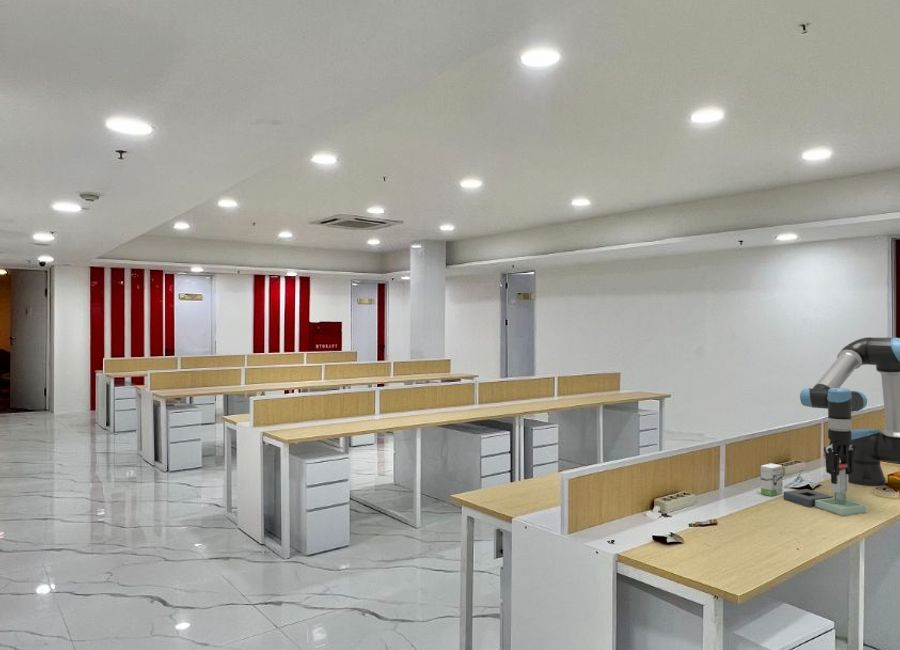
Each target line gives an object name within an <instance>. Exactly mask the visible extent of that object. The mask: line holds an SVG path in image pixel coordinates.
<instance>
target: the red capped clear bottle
mask: <svg viewBox="0 0 900 650" xmlns="http://www.w3.org/2000/svg"><path fill="white" fill-rule="evenodd" d="M846 468H847V464H846V463H842V462H841V461H840V462H839V470H838V475H840V493H836V492H834V498H835V504H839V505H846V500H847V498H846V497H847V492H846ZM834 472H835V471H834Z"/></svg>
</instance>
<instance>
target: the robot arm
mask: <svg viewBox="0 0 900 650" xmlns="http://www.w3.org/2000/svg"><path fill="white" fill-rule="evenodd" d="M837 353H838V354H837V357H836V360H835V361H834V362H833V363H832V364H831V366H830V367H829V368H828V370H826V371H825V373H824V374H823V375H822V377H821V378H820V379H819V380H818V381H817V382H816V384H815V385H814V386H813V387H812V388H810V387H806V388H803V389H801V390H800V393H799V401H800V403H801V405H802V406H803V407H808V408H813V409H825V410H827V417H828V419H827V425H828V426H827V428H828V430H827V438H828V439H829V440H830V441H829V446H824V447H823V451H824V455H825V472H826V473H827V474H829V475H830V483H831V492H834V493H835V492H836V493H840V475H838V470H839V462H842V463H846V464H847V468H846V493H849V483H852V484H857V485H862V486H863V485H864V486H876V487H877V486H885V485H886V477H885V475H884V471H883V469H882V466H881V461H883V462H889V463H895V464H900V337H862V338H859V339H857V340H854V341H852V342H850V343H849V344H847V345H845V346H844V347H843V348H842V349H841V350H840V351H839V352H837ZM864 365H870V366H871V365H872V366H875V369H876V372H877V373H879V374H880V375H881V376H880V377H881V387H882V388H881V389H882V397H883V407H884V419H885V429H883V430H882V432H881V430H880V428H859V429H858V428H857V429H852V427H853V425H852V424H853V423H852V413H853V412H859V411H861V410H863V409H865V408H866V406H867V404H868V398H867V396H866V395H865V394H864V393H863V392H861V391H856V390H851V389H849V388H846V387H845V388H844V387H842V385H844V383H845V381H847V379H848V378H849V377H850V376H851V375H852V373H853V372H854V371H855V370H857V369H859V368H860V367H862V366H864ZM834 471H835V472H834Z"/></svg>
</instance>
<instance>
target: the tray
mask: <svg viewBox="0 0 900 650" xmlns="http://www.w3.org/2000/svg"><path fill="white" fill-rule="evenodd" d="M814 508H816V509H818V510H822V511H825V512H828V513H831V514H835V515H838V516H840V517H846V516H848V517H849V516H852V515H854V514H855V515H860V514H859V513H862V514H866V513H867V505H866V504H863V503H860V502H855V501H853V500H848V499H846V505H839V504H835V497H833V498H828V499H820V500H815V507H814ZM855 515H854V516H855Z"/></svg>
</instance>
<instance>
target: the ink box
mask: <svg viewBox="0 0 900 650" xmlns="http://www.w3.org/2000/svg"><path fill="white" fill-rule="evenodd" d="M783 490H784V489H783V465H781V464H776V463H773V462H772V463H771V462H769V463H767V464H763V465H761V466H760V494H761V495H765V496H769V497H775V496H777V495H782V494H783V493H784V491H783Z"/></svg>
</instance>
